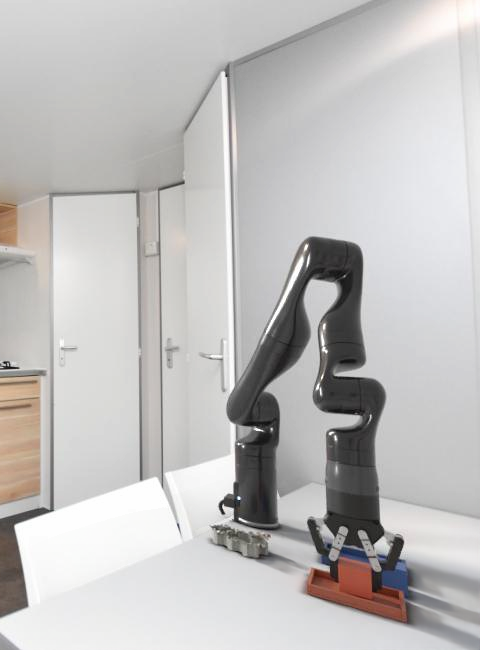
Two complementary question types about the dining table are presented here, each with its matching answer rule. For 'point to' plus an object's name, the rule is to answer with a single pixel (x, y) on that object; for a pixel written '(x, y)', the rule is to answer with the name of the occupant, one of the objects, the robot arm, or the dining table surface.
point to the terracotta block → (355, 577)
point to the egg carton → (241, 540)
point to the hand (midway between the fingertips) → (355, 585)
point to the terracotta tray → (382, 602)
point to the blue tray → (354, 555)
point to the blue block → (396, 578)
